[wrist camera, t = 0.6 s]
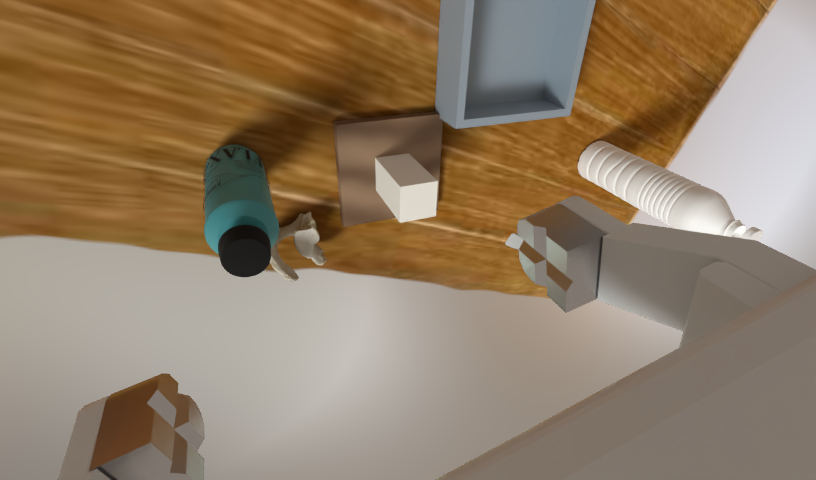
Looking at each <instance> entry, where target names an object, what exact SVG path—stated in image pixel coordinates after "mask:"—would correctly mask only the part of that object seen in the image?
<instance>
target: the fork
mask: <svg viewBox="0 0 816 480" xmlns="http://www.w3.org/2000/svg"><path fill="white" fill-rule="evenodd" d="M522 242H523V239H522V238H521V237H520V236H518V235H517V234H515V233H513V234H511V236H510V237H509V238H508V240H507V241H506V243H505V244H506V245H508V246H510V247H512V248H515V249H519V248H520V246H521V244H522Z"/></svg>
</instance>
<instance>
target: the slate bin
mask: <svg viewBox="0 0 816 480" xmlns="http://www.w3.org/2000/svg"><path fill="white" fill-rule="evenodd" d="M595 2H596V0H441V4H440V24H439V43H438V63H437V82H436V101H435V111H436V112H437V113H439V114H440V119H442V120H443V121H445V122H446V123H448V124H449V125H450V126H452V127H453V128H455V129H460V128H469V127H477V126H486V125H494V124H503V123H511V122H520V121H529V120H537V119H546V118H554V117H563V116H570V113H571V109H572V104H573V100H574V95H575V91H576V86H577V82H578V77H579V73H580V69H581V64H582V60H583V55H584V51H585V46H586V42H587V37H588V33H589V28H590V24H591V20H592V15H593V11H594V6H595Z"/></svg>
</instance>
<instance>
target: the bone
mask: <svg viewBox="0 0 816 480" xmlns="http://www.w3.org/2000/svg"><path fill="white" fill-rule="evenodd" d="M287 236H294V243H295V246H296V248H297V250H298V251H299V253H300V254H301V255H303V256H304V257H307V258H311V259H312V260H313V261H314V262H315V263H316V264H317V265H323V264H324V263H325V262H326V261H327V259H326V258H325V256H324V253H323V252H325V251H323V250H322V249H321V248H320V247H319V246H318V245H316V244H315V243H317V242H318V241H319V239H320V237H319V233H318V231H317V229H316V223H315V220H314V219H313V218H312V214H311V212H308V213H307V214H302V213H301V214H300V215H299V216H298V218H297V219H296V220H295V221H294V222H293V223H292V224H290V225H288V226H285V227H281V228H279V235H278V238H277V240H276V242H275V244H274V245H273V247H272V248H271V260H270V263H271V265H272V267H273V268H274V270H276V271H277V272H278V273H280V274H281V275H282V276H283V277H284V278H285V279H287V280H289V281H296V280H297V279H298V278H299V277H298V276H297V274H296V273H295V271H294V270H293V269H292V268H291V267H290V266H288V265H286V264H285V263H284V262H283V261H282V259H281V258H280V256H279V254H278V251H277V246H278V244H279V242H280V241H281V240H282V239H283V238H285V237H287Z"/></svg>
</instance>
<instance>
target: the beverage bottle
mask: <svg viewBox="0 0 816 480" xmlns="http://www.w3.org/2000/svg"><path fill="white" fill-rule="evenodd" d="M214 151H215V150H214ZM208 157H209V156H208ZM261 159H262V158H261ZM261 159H260V158H259V156H258V155H257V154H256V153H255V152H254V150H253V151H252V150H251V149H249V148H247V147H246V146H245V147H244V146H243V145H236V144H233V145H225V146H222V147H221V148H219V149H217V150H216V151H215V152H213V153H212V154H211V155H210V157H209V159H208V160H207V163H205V164H206V169H205V179H204V181H205V184H204V185H205V189H203V191H204V190H205V199H204V198H203V200H204V201H203V202H204V203H205V226H204V234H205V238H206V241H207V243H208V244H209V246H210V247H211V248H212V249H213V250H214V251H215V252H216V253H217V254H219V257H220V260H221V264H222V266H223V267H224V269H225V270H226V271H227V272H229V273H230V274H232V275H235V276H239V277H250V276H254V275H257V274H259V273H261V272H262V271H264V270H265V269H266V267H267V266H268V265H269V263H270V260H271V248H272V247H273V245H274V244H275V242H276V240H277V238H278V235H279V223H278V219H277V217H276V214H275V211H274V207H273V203H272V199H271V195H270V193H271V191H270V190H269V186H268V184H270V183H268V182H269V180H268V182H267V179H268V176H266V174H267V172H266V174H265V170H264V166H263V163H262V161H261ZM264 165H265V164H264ZM204 167H205V166H204ZM266 177H267V178H266ZM203 209H204V204H203ZM203 211H204V210H203ZM203 217H204V216H203Z"/></svg>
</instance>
